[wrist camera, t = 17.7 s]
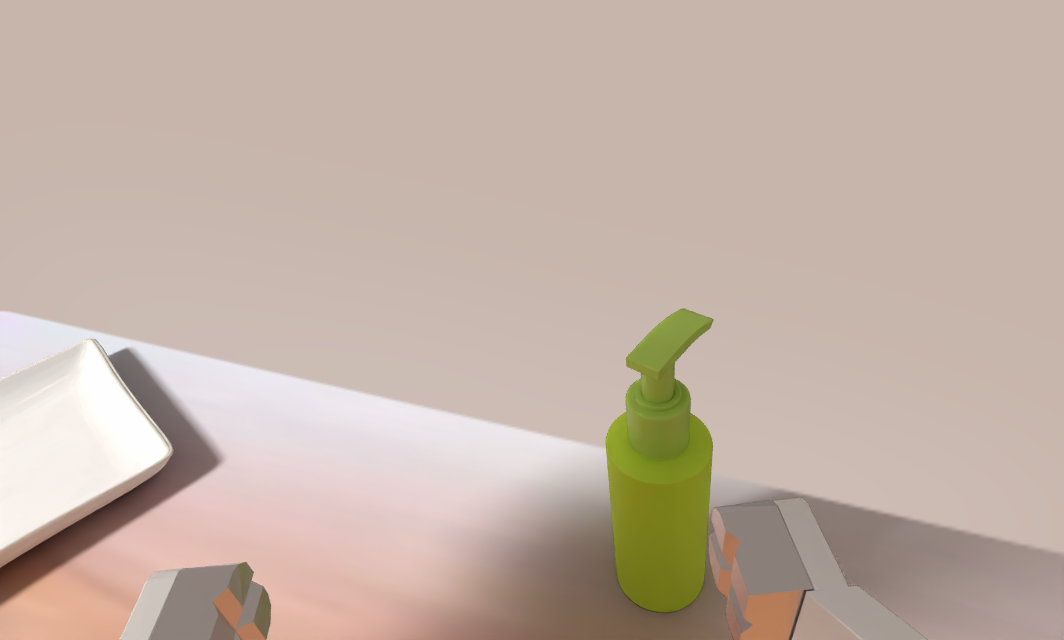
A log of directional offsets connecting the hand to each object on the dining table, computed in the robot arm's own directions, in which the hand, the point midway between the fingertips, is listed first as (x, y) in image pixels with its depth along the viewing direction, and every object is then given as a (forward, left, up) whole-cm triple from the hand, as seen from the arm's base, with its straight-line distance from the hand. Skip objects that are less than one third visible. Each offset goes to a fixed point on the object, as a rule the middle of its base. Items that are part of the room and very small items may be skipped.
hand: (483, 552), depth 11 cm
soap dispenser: (+19, +3, -31) cm, 37 cm away
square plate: (+4, +60, -32) cm, 68 cm away
